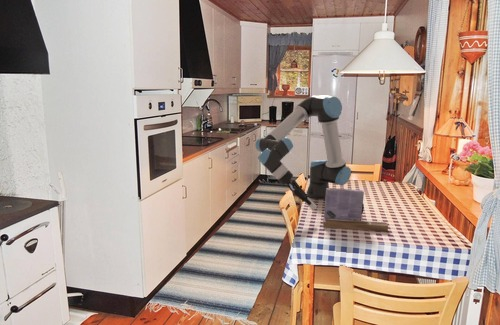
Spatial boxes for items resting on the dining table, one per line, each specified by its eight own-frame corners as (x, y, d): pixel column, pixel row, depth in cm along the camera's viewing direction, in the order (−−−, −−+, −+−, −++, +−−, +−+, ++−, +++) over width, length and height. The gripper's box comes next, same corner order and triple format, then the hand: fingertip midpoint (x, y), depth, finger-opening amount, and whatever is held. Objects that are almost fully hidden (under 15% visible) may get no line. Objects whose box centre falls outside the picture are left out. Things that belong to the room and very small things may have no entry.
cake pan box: (362, 222, 189) (364, 189, 186) (363, 226, 184) (365, 191, 181) (323, 220, 192) (325, 187, 189) (324, 224, 187) (325, 189, 184)
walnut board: (323, 224, 187) (323, 218, 186) (385, 228, 182) (386, 222, 181) (323, 227, 182) (323, 221, 181) (387, 231, 177) (388, 225, 176)
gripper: (278, 176, 196) (309, 209, 196) (276, 182, 183) (309, 217, 184) (289, 167, 194) (320, 200, 194) (287, 172, 181) (320, 207, 182)
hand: (314, 208), depth 189 cm, fingers closed
